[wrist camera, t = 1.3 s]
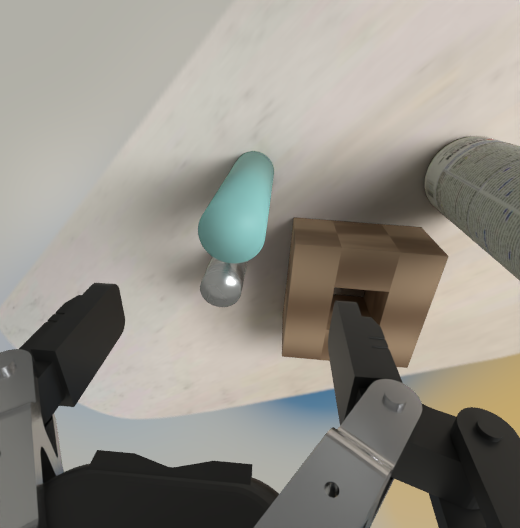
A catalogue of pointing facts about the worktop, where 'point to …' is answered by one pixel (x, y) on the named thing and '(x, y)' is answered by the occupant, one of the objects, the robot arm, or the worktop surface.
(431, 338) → the worktop surface
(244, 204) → the long pin
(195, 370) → the worktop surface
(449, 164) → the spray can
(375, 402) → the robot arm
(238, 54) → the worktop surface
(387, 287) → the socket block
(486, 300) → the worktop surface
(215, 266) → the short pin
